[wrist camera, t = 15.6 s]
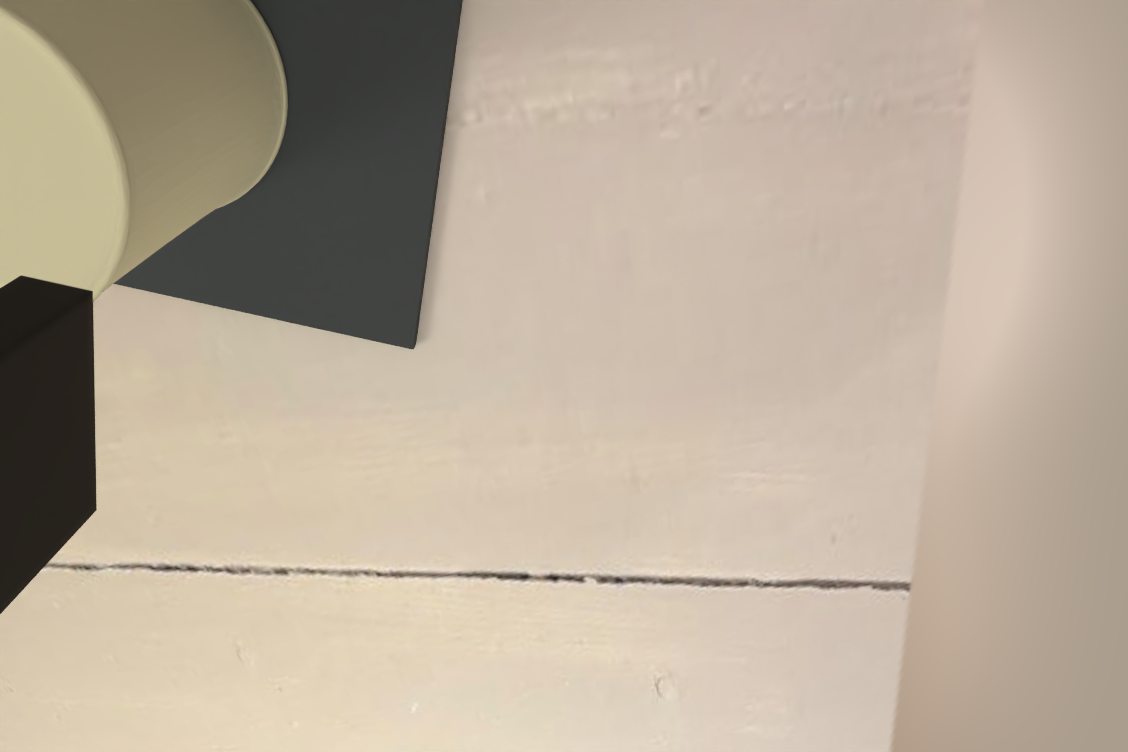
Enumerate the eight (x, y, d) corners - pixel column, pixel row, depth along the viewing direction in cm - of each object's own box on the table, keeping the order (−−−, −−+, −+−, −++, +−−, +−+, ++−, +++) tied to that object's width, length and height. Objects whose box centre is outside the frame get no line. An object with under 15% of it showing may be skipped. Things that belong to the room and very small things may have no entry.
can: (12, 150, 39) (-253, 264, 28) (53, -109, 35) (-238, -93, 24) (252, 251, 39) (83, 399, 29) (321, 8, 35) (153, 75, 25)
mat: (477, -109, 34) (475, -109, 33) (415, 345, 41) (413, 349, 40) (-138, -238, 34) (-148, -240, 34) (-92, 234, 41) (-99, 237, 41)
